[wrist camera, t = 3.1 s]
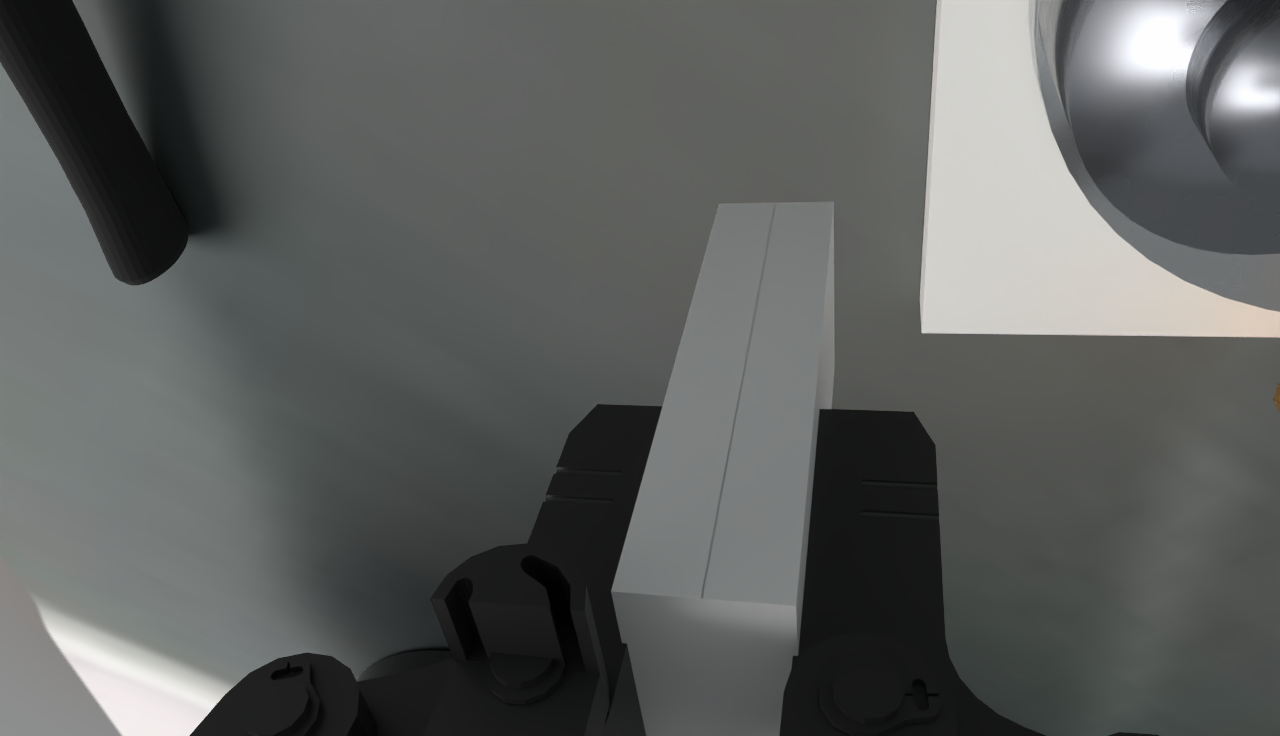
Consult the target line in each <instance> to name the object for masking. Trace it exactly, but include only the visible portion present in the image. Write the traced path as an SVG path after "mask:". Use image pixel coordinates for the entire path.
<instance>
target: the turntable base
mask: <svg viewBox="0 0 1280 736" xmlns="http://www.w3.org/2000/svg"><path fill="white" fill-rule="evenodd" d="M1028 15H1029V0H937V9H936V27H935V44H934V61H933V79H932V96H931V113H930V131H929V148H928V165H927V183H926V200H925V217H924V235H923V252H922V269H921V287H920V311H921V330H922V333H959V334H1043V335H1127V336H1211V337H1280V312H1278V311H1272V310H1266V309H1263V308H1259V307H1256V306H1252V305H1249V304H1245V303H1241V302H1238V301H1234V300H1231V299H1227V298H1224V297H1221V296H1219V295H1217V294H1214V293H1212V292H1210V291H1207V290H1205V289H1202V288H1200V287H1198V286H1195V285H1193V284H1190V283H1188V282H1186V281H1184V280H1182V279H1180V278H1179V277H1177V276H1175V275H1174V274H1172V273H1170V272H1168V271H1167V270H1165V269H1163V268H1162V267H1160V266H1158V265H1157V264H1155V263H1153V262H1152V261H1150V260H1148V259H1147V258H1146V257H1145V256H1143V255H1142V254H1141V253H1140V252H1138V251H1137V250H1136V249H1135V248H1134V247H1132V246H1131V245H1130V244H1129V243H1127V242H1126V241H1125V240H1124V239H1122V238H1121V237H1120V236H1119V235H1117V233H1116V232H1115V231H1114V230H1113V229H1112V228H1111V227H1110V226H1109V225H1108V223H1107V222H1106V221H1105V220H1104V219H1103V218H1102V217H1101V216H1100V215H1099V213H1098V212H1097V211H1096V210H1095V209H1094V208H1093V207H1092V206H1091V205H1090V203H1089V201H1088V200H1087V198H1086V197H1085V195H1084V194H1083V192H1082V191H1081V189H1080V188H1079V186H1078V184H1077V183H1076V181H1075V180H1074V178H1073V177H1072V175H1071V174H1070V172H1069V170H1068V168H1067V166H1066V163H1065V161H1064V159H1063V157H1062V154H1061V152H1060V150H1059V147H1058V145H1057V143H1056V140H1055V138H1054V136H1053V133H1052V131H1051V128H1050V124H1049V121H1048V118H1047V115H1046V112H1045V109H1044V105H1043V102H1042V98H1041V94H1040V90H1039V86H1038V82H1037V78H1036V74H1035V70H1034V66H1033V61H1032V50H1031V40H1030V30H1029V20H1028Z"/></svg>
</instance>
